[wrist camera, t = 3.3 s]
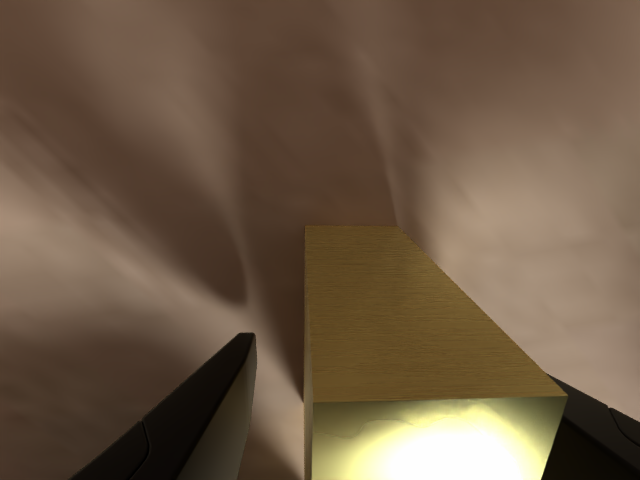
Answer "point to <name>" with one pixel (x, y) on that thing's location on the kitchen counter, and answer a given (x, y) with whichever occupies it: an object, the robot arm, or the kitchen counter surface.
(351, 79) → the kitchen counter surface
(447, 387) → the block
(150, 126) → the kitchen counter surface
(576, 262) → the kitchen counter surface
